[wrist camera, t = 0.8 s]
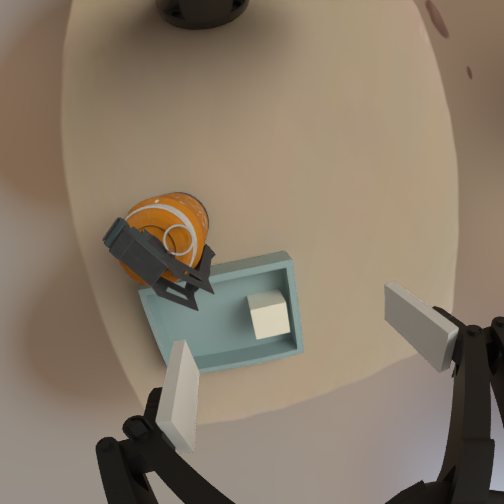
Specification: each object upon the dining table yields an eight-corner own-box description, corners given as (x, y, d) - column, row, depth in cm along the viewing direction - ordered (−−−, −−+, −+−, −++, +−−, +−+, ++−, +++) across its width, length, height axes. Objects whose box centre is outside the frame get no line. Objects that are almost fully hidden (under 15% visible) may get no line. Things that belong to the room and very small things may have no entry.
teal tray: (145, 279, 40) (137, 290, 36) (285, 250, 42) (292, 259, 37) (174, 361, 45) (171, 377, 40) (297, 338, 46) (304, 352, 42)
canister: (175, 179, 37) (130, 179, 18) (232, 229, 40) (242, 276, 21) (137, 226, 38) (72, 267, 19) (193, 273, 41) (172, 349, 22)
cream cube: (246, 295, 42) (250, 310, 37) (278, 288, 42) (285, 302, 37) (252, 323, 43) (256, 339, 38) (283, 316, 44) (290, 332, 39)
